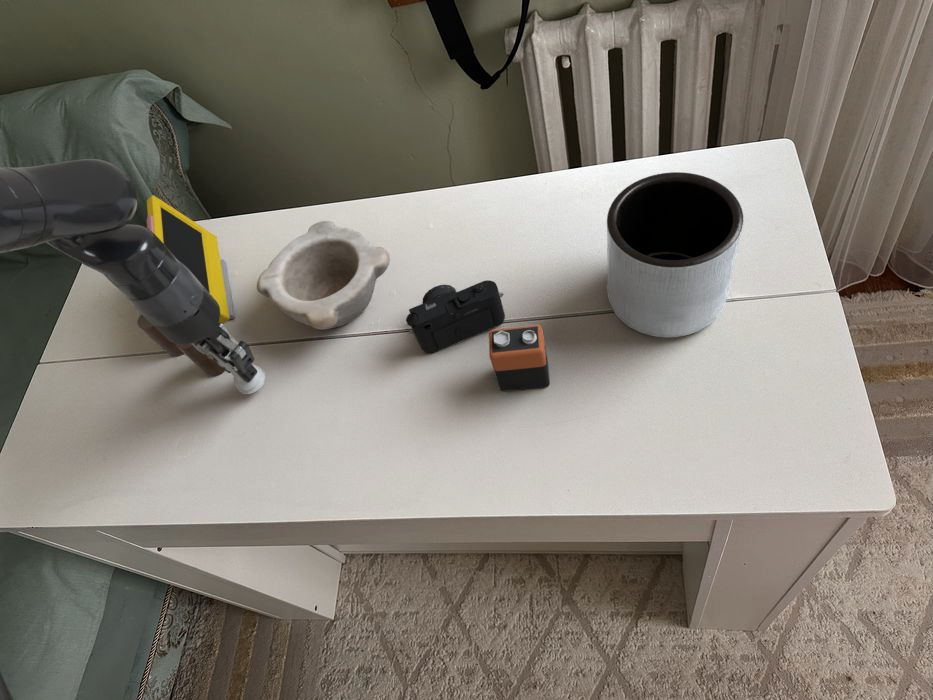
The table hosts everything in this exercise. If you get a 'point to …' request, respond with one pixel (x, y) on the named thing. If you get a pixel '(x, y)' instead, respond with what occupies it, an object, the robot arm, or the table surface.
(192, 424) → the table surface
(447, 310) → the camera
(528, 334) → the battery
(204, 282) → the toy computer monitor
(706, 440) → the table surface
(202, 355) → the near post
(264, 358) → the table surface
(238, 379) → the rook chess piece
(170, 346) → the far post
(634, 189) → the planter
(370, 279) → the mortar
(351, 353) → the table surface
